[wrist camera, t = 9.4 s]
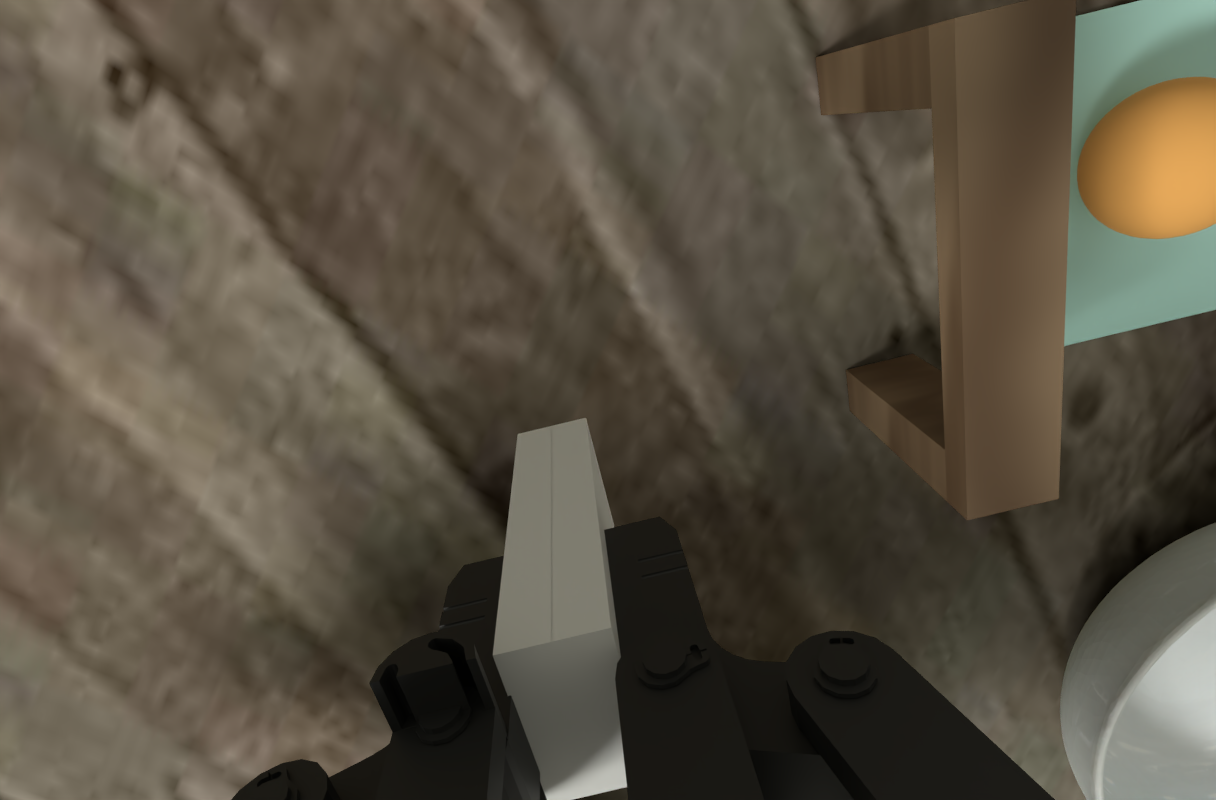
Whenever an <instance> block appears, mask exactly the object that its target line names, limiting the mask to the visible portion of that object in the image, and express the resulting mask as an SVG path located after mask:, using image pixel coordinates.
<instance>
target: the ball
mask: <svg viewBox="0 0 1216 800" xmlns="http://www.w3.org/2000/svg"><path fill="white" fill-rule="evenodd" d="M1077 182H1078V189H1079V193H1080V196H1081V198H1082V200H1083V202H1084V204H1085V206H1086V207H1087V209H1088V210H1089V211H1090V213H1091V214H1092V215H1093V216H1094V217H1095V218H1096V219H1097V220H1098V221H1100V222H1101V223H1102V224H1104V225H1105V226H1107V227H1108V228H1110V229H1112V230H1114V231H1116V232H1119V233H1122V234H1125V235H1128V236H1132V237H1137V238H1147V239H1166V238H1173V237H1179V236H1184V235H1188V234H1192V233H1195V232H1198V231H1201V230H1203V229H1206V228H1208V227H1210V226H1212V225H1214V224H1216V78H1211V77H1186V78H1177V79H1172V80H1168V81H1164V82H1161V83H1158V84H1155V85H1152V86H1149V87H1147V88H1145V89H1142V90H1140V91H1138V92H1136V93H1134V94H1133V95H1131V96H1129V97H1128V98H1126V99H1124V100H1123V101H1122V102H1120V103H1119V104H1118V105H1116V106H1115V107H1114V108H1113V109H1111V110H1110V111H1109V112H1108V113H1107V114H1106V115H1105V116H1104V117H1103V118H1102V119H1101V120H1100V121H1099V122H1098V123H1097V125H1096V126H1095V127H1094V129H1093V130H1092V131H1091V133H1090V135H1089V136H1088V138H1087V140H1086V142H1085V144H1084V146H1083V148H1082V151H1081V154H1080V157H1079V161H1078V167H1077Z"/></svg>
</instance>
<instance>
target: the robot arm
mask: <svg viewBox="0 0 1216 800" xmlns="http://www.w3.org/2000/svg"><path fill="white" fill-rule="evenodd" d="M443 609H444V612H442V616H441V621H440V625H439V627H440V630H439V631H438V632H434V633H429V634H427V635H424V636H421V637H418V638H416V639H413V640H411V641H409V642H408V643H406V644H405V645H403V646H402V647H400V648H398V649H397V650H395V651H394V652H393V653H392V654H391V655H390V656H389V657H388V658H387V659H386V660H385V661H384V662H383V663H382V664H381V665H380V666H379V667H378V668H377V670H376V672H375V674H374V676H373V677H372V679H371V681H370V683H369V684H370V686H371V688H372V690H373V692H374V694H375V696H376V698H377V700H378V702H379V705H380V707H381V709H382V711H383V713H384V715H385V717H386V719H387V721H388V723H389V725H390V728H391V730H392V732H393V733H392V737H391V741H390V744H389V745H387V746H386V747H385V748H383V749H382V750H380V751H378V752H377V753H375V754H373V755H372V756H370V757H368V758H366V759H364V760H363V761H361V762H359V763H357V764H355V765H353V766H351V767H349V768H347V769H345V770H343V771H341V772H339V773H337V774H335V775H333V776H331V777H328V775H327V773H326V772H325V771H324V770H323V769H322V767H321V766H320V765H319V764H318V763H317V762H312V761H308V760H303V759H301V760H296V761H291V762H286V763H282V764H280V765H278V766H276V767H274V768H272V769H270V770H268V771H266V772H263V773H261V774H260V775H259V776H257V777H256V778H255V779H253V780H252V781H251V782H250V783H248V784H247V785H246V786H244V787H243V788H242V789H241V790H239V792H238V793H237V794H236V795H235V796H234V797H233V798H232V800H574V799H578V798H582V797H586V796H591V795H595V794H599V793H603V792H608V791H612V790H616V789H621V788H625V787H627V791H628V800H1055V799H1054V798H1052V797H1051V796H1050V795H1049V794H1048V793H1047V792H1046V791H1045V790H1044V789H1043V788H1042V787H1041V786H1040V785H1038V784H1037V783H1036V782H1035V781H1034V780H1033V779H1032V778H1031V777H1030V776H1029V775H1028V774H1027V773H1026V772H1025V771H1023V770H1022V769H1021V768H1020V767H1019V766H1018V765H1017V764H1016V763H1015V762H1014V761H1013V760H1012V759H1011V758H1009V757H1008V756H1007V755H1006V754H1005V753H1004V752H1003V751H1002V750H1001V749H1000V748H999V747H998V746H997V745H995V744H994V743H993V742H992V741H991V740H990V739H989V738H988V737H987V736H986V735H985V734H984V733H983V732H981V731H980V730H979V729H978V728H977V727H976V726H975V725H974V724H973V723H972V722H971V721H970V720H969V719H967V718H966V717H965V716H964V715H963V714H962V713H961V712H960V711H959V710H958V709H957V708H956V707H955V706H953V705H952V704H951V703H950V702H949V701H948V700H947V699H946V698H945V697H944V696H943V695H942V694H941V693H939V692H938V691H937V690H936V689H935V688H934V687H933V686H932V685H931V684H930V683H929V682H928V681H927V680H925V679H924V678H923V677H922V676H921V675H920V674H919V673H918V672H917V671H916V670H915V669H914V668H913V667H911V666H910V665H909V664H908V663H907V662H906V661H905V660H904V659H903V658H902V657H901V656H900V655H899V654H897V653H896V652H895V651H894V650H893V649H892V648H890V647H889V646H887V645H885V644H884V643H882V642H881V641H879V640H878V639H876V638H874V637H871V636H867V635H864V634H861V633H857V632H854V631H830V632H826V633H822V634H818V635H815V636H811V637H810V638H808V639H807V640H805V641H804V642H802V643H801V644H799V645H798V646H796V647H795V649H794V651H793V652H792V654H791V655H790V657H789V659H788V660H787V662H763V661H755V660H747V659H744V658H741V657H738V656H735V655H733V654H731V653H729V652H728V651H726V650H724V649H723V648H721V647H720V646H719V645H718V644H717V643H716V642H715V641H714V640H713V639H712V637H711V635H710V633H709V631H708V629H707V627H706V623H705V620H704V617H703V614H702V611H701V608H700V604H699V601H698V598H697V595H696V592H695V588H694V585H693V582H692V579H691V576H690V572H689V569H688V566H687V563H686V560H685V556H684V553H683V550H682V547H681V544H680V540H679V537H678V534H677V531H676V530H675V529H674V528H673V527H672V526H671V525H669V524H668V523H667V522H666V521H664V520H663V519H662V518H661V517H656V518H652V519H648V520H643V521H639V522H635V523H631V524H627V525H622V526H618V527H614V523H613V519H612V515H611V511H610V507H609V504H608V500H607V496H606V492H605V488H604V485H603V481H602V477H601V473H600V469H599V466H598V462H597V458H596V454H595V450H594V446H593V443H592V439H591V435H590V431H589V427H588V424H587V420H586V418H582V419H578V420H574V421H570V422H566V423H562V424H558V425H553V426H549V427H545V428H541V429H537V430H533V431H528V432H524V433H520V434H518V436H517V445H516V453H515V462H514V471H513V480H512V489H511V498H510V506H509V515H508V524H507V533H506V542H505V551H504V556H501V557H497V558H493V559H489V560H484V561H480V562H476V563H472V564H468V565H464V566H463V567H462V569H461V570H460V571H459V573H458V574H457V576H456V577H455V578H454V580H453V581H452V582H451V584H450V585H449V586H448V590H447V594H446V599H445V603H444V608H443Z"/></svg>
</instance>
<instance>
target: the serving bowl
mask: <svg viewBox="0 0 1216 800" xmlns="http://www.w3.org/2000/svg"><path fill="white" fill-rule="evenodd" d="M1060 718H1061V729H1062V736H1063V741H1064V746H1065V750H1066V753H1067V757H1068V760H1069V763H1070V766H1071V768H1072V771H1073V773H1074V775H1075V778H1076V780H1077V782H1078V784H1079V786H1080V788H1081V790H1082V792H1083V793H1084V795H1085V797H1086V799H1087V800H1216V523H1213V524H1210V525H1208V526H1206V527H1203V528H1201V529H1198V530H1196V531H1194V532H1192V533H1190V534H1188V535H1186V536H1184V537H1182V538H1180V539H1178V540H1176V541H1175V542H1173V543H1171V544H1169V545H1168V546H1166V547H1164V548H1163V549H1161V550H1160V551H1158V552H1156V553H1155V554H1153V555H1152V556H1150V557H1149V558H1148V559H1146V560H1145V561H1144V562H1142V563H1141V564H1140V565H1139V566H1137V567H1136V568H1135V569H1134V570H1132V571H1131V572H1130V573H1129V574H1128V575H1127V576H1125V577H1124V578H1123V579H1122V580H1121V581H1120V582H1119V583H1118V584H1117V585H1116V586H1115V587H1114V588H1113V589H1112V590H1111V591H1110V592H1109V593H1108V594H1107V595H1106V597H1105V598H1104V599H1103V600H1102V601H1101V602H1100V604H1099V605H1098V606H1097V608H1096V609H1095V610H1094V611H1093V613H1092V614H1091V616H1090V617H1089V619H1088V620H1087V622H1086V623H1085V625H1084V626H1083V628H1082V630H1081V632H1080V634H1079V635H1078V637H1077V639H1076V642H1075V644H1074V646H1073V648H1072V651H1071V653H1070V656H1069V659H1068V662H1067V666H1066V669H1065V673H1064V678H1063V683H1062V691H1061V700H1060Z"/></svg>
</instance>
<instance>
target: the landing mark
mask: <svg viewBox="0 0 1216 800" xmlns="http://www.w3.org/2000/svg"><path fill="white" fill-rule="evenodd" d="M1186 77H1211V78H1216V0H1139V1H1135V2H1131V3H1127V4H1123V5H1119V6H1115V7H1111V8H1107V9H1103V10H1099V11H1095V12H1091V13H1087V14H1082V15H1078V16H1076V24H1075V53H1074V81H1073V110H1072V138H1071V166H1070V195H1069V223H1068V251H1067V280H1066V308H1065V336H1064V346H1067V345H1071V344H1075V343H1079V342H1083V341H1087V340H1092V339H1096V338H1100V337H1104V336H1108V335H1112V334H1117V333H1121V332H1125V331H1129V330H1133V329H1137V328H1142V327H1146V326H1150V325H1154V324H1158V323H1162V322H1167V321H1171V320H1175V319H1179V318H1183V317H1187V316H1192V315H1196V314H1200V313H1204V312H1208V311H1212V310H1216V224H1214V225H1212V226H1210V227H1208V228H1206V229H1203V230H1201V231H1198V232H1195V233H1192V234H1188V235H1184V236H1179V237H1173V238H1166V239H1147V238H1137V237H1132V236H1128V235H1125V234H1122V233H1119V232H1116V231H1114V230H1112V229H1110V228H1108V227H1107V226H1105V225H1104V224H1102V223H1101V222H1100V221H1098V220H1097V219H1096V218H1095V217H1094V216H1093V215H1092V214H1091V213H1090V211H1089V210H1088V209H1087V207H1086V206H1085V204H1084V202H1083V200H1082V198H1081V196H1080V193H1079V189H1078V182H1077V167H1078V161H1079V157H1080V154H1081V151H1082V148H1083V146H1084V144H1085V142H1086V140H1087V138H1088V136H1089V135H1090V133H1091V131H1092V130H1093V129H1094V127H1095V126H1096V125H1097V123H1098V122H1099V121H1100V120H1101V119H1102V118H1103V117H1104V116H1105V115H1106V114H1107V113H1108V112H1109V111H1110V110H1111V109H1113V108H1114V107H1115V106H1116V105H1118V104H1119V103H1120V102H1122V101H1123V100H1124V99H1126V98H1128V97H1129V96H1131V95H1133V94H1134V93H1136V92H1138V91H1140V90H1142V89H1145V88H1147V87H1149V86H1152V85H1155V84H1158V83H1161V82H1164V81H1168V80H1172V79H1177V78H1186Z"/></svg>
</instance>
